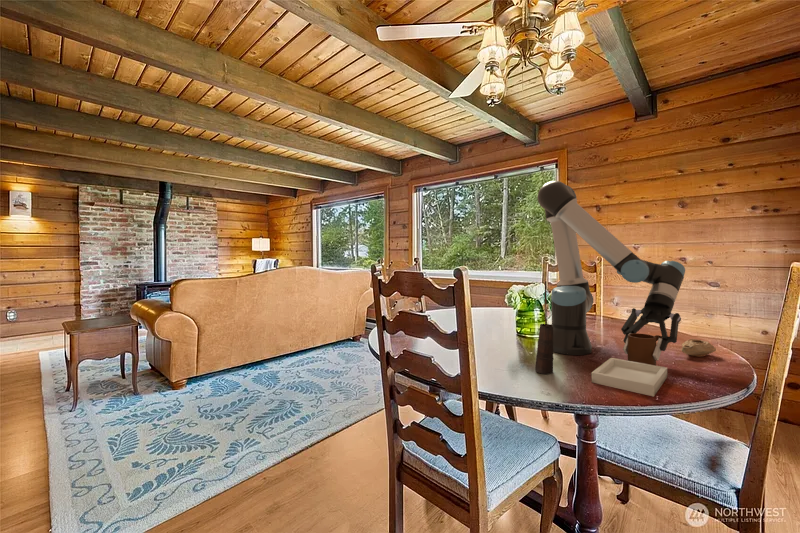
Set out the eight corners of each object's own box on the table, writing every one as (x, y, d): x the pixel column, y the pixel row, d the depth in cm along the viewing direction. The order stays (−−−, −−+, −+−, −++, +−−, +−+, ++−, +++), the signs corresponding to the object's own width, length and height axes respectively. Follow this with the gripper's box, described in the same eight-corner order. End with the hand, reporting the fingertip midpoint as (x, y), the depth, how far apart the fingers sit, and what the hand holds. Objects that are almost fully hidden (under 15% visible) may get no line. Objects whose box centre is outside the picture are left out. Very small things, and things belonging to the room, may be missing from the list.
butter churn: (559, 380, 100) (559, 283, 99) (525, 374, 106) (524, 282, 105) (564, 370, 108) (563, 281, 107) (532, 366, 113) (531, 280, 112)
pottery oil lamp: (669, 354, 121) (667, 334, 124) (694, 362, 124) (691, 342, 127) (697, 351, 113) (694, 330, 116) (723, 360, 116) (719, 339, 119)
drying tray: (591, 382, 98) (591, 372, 98) (610, 366, 111) (610, 357, 111) (653, 396, 88) (653, 385, 88) (667, 377, 101) (667, 367, 101)
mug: (653, 359, 117) (653, 331, 116) (674, 366, 109) (675, 336, 109) (621, 362, 115) (621, 333, 114) (641, 369, 107) (641, 339, 107)
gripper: (702, 310, 112) (682, 370, 104) (631, 303, 129) (609, 354, 121) (696, 295, 109) (676, 355, 101) (624, 290, 126) (602, 341, 118)
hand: (639, 354), depth 111 cm, fingers closed on mug, 8 cm apart
